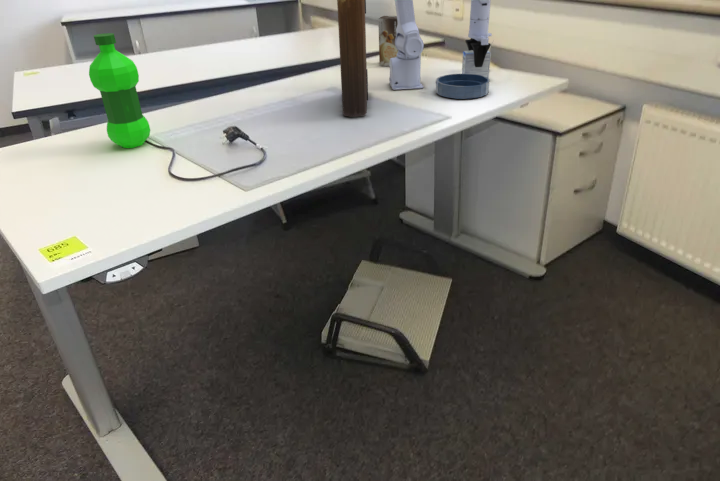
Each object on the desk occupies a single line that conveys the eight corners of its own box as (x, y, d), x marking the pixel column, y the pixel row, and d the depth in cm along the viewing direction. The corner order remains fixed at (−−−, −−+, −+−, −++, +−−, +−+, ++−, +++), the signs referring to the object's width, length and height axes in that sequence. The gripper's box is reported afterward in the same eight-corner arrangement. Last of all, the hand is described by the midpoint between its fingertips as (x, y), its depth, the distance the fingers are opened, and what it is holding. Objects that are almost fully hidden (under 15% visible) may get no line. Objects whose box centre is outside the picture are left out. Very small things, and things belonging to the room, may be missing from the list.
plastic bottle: (111, 155, 123) (78, 41, 111) (109, 141, 132) (79, 33, 119) (156, 147, 127) (129, 35, 114) (152, 134, 135) (126, 29, 122)
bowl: (442, 101, 151) (443, 88, 149) (431, 87, 164) (431, 75, 162) (495, 98, 152) (496, 84, 150) (479, 84, 165) (480, 72, 163)
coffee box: (408, 63, 195) (408, 15, 186) (402, 67, 189) (403, 18, 181) (384, 62, 198) (384, 15, 190) (378, 65, 193) (377, 17, 184)
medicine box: (485, 77, 173) (487, 49, 169) (488, 80, 169) (491, 52, 165) (461, 78, 173) (462, 50, 168) (463, 81, 169) (465, 53, 165)
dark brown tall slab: (344, 94, 161) (339, -16, 146) (368, 93, 161) (365, -17, 146) (341, 118, 141) (334, -7, 126) (368, 117, 141) (365, -8, 126)
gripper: (500, 21, 156) (495, 69, 163) (485, 14, 168) (481, 59, 175) (476, 22, 155) (473, 70, 162) (463, 15, 168) (460, 60, 175)
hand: (476, 65), depth 169 cm, fingers closed on medicine box, 5 cm apart
